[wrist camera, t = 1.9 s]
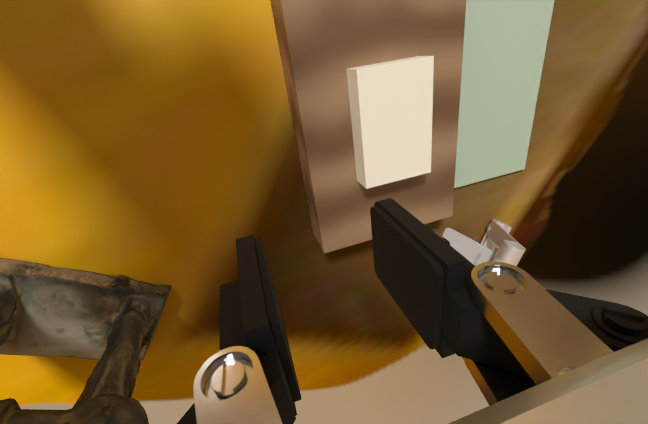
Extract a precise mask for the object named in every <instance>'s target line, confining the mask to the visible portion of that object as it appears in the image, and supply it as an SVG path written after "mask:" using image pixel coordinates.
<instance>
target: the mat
mask: <svg viewBox="0 0 648 424" xmlns="http://www.w3.org/2000/svg"><path fill="white" fill-rule="evenodd" d="M553 5H554V0H466V13H465V29H464V44H463V60H462V75H461V91H460V106H459V122H458V137H457V153H456V168H455V184H454V188H457V187H461V186H465V185H468V184H472V183H476V182H479V181H483V180H487V179H490V178H494V177H498V176H501V175H505V174H508V173H512V172H516V171H519V170H523V169H525V164H526V158H527V153H528V147H529V141H530V136H531V130H532V124H533V119H534V113H535V107H536V102H537V96H538V90H539V85H540V79H541V73H542V67H543V62H544V56H545V50H546V45H547V39H548V33H549V28H550V22H551V16H552V11H553Z"/></svg>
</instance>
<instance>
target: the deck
mask: <svg viewBox="0 0 648 424" xmlns="http://www.w3.org/2000/svg"><path fill="white" fill-rule="evenodd" d="M270 1H271V6H272V11H273V17H274V22H275V28H276V33H277V39H278V44H279V50H280V55H281V60H282V66H283V71H284V77H285V82H286V88H287V93H288V99H289V104H290V110H291V115H292V120H293V126H294V131H295V137H296V142H297V148H298V153H299V159H300V164H301V169H302V175H303V180H304V186H305V191H306V197H307V202H308V208H309V213H310V218H311V224H312V229H313V234H314V236H315V238H316V240H317V241H318V243H319V245H320V247H321V249H322V251H323V253H328V252H331V251H335V250H338V249H341V248H345V247H348V246H352V245H355V244H358V243H362V242H365V241H369V240H372V229H371V216H370V208H371V207H374V203H375V202H377V201H380V200H384V199H388V198H392V199H393V200H395V201H396V202H397V203H398V204H400V205H401V206H402V207H403V208H404V209H406V210H407V211H408V212H409V213H411V214H412V215H413V216H414V217H416V218H417V219H418V220H419V221H421V222H422V223H423V224H427V223H430V222H434V221H437V220H440V219H444V218H447V217H451V216H452V215H453V199H454V184H455V168H456V153H457V137H458V122H459V106H460V91H461V75H462V60H463V44H464V29H465V13H466V0H270ZM416 56H434V72H433V111H432V151H431V172H430V173H426V174H422V175H418V176H414V177H410V178H407V179H403V180H399V181H395V182H391V183H387V184H383V185H380V186H376V187H372V188H368V189H366V188H365V187H364V186H362V185H361V184H360V183H359V182H358V181H357V174H356V164H355V153H354V143H353V133H352V122H351V112H350V101H349V91H348V80H347V70H346V69H349V68H354V67H360V66H366V65H371V64H377V63H383V62H388V61H394V60H400V59H405V58H411V57H416Z"/></svg>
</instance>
